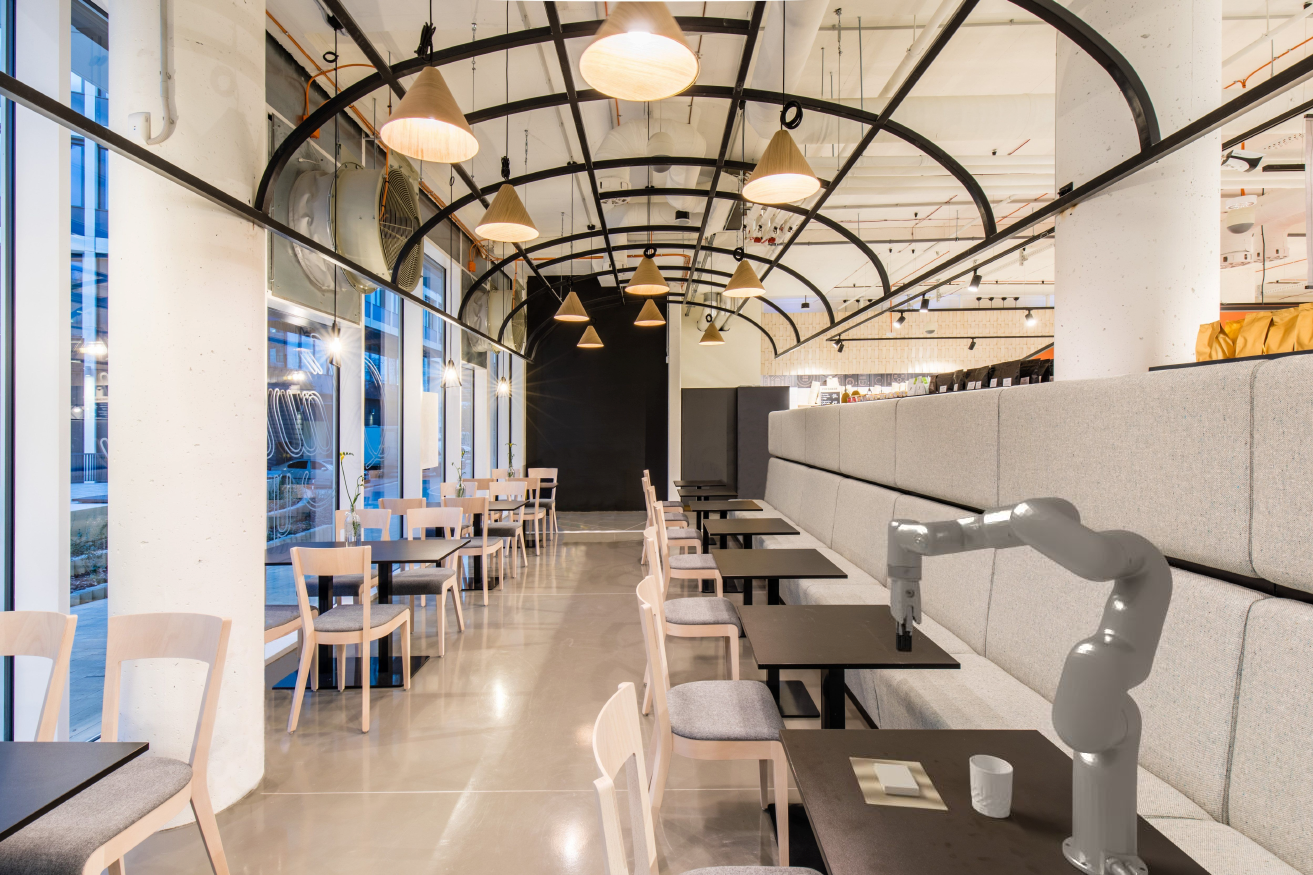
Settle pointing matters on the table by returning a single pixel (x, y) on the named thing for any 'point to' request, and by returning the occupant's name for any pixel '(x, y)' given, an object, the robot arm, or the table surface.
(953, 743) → the table surface
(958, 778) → the table surface
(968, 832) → the table surface
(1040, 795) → the table surface
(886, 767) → the tile
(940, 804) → the board
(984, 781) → the white cup
